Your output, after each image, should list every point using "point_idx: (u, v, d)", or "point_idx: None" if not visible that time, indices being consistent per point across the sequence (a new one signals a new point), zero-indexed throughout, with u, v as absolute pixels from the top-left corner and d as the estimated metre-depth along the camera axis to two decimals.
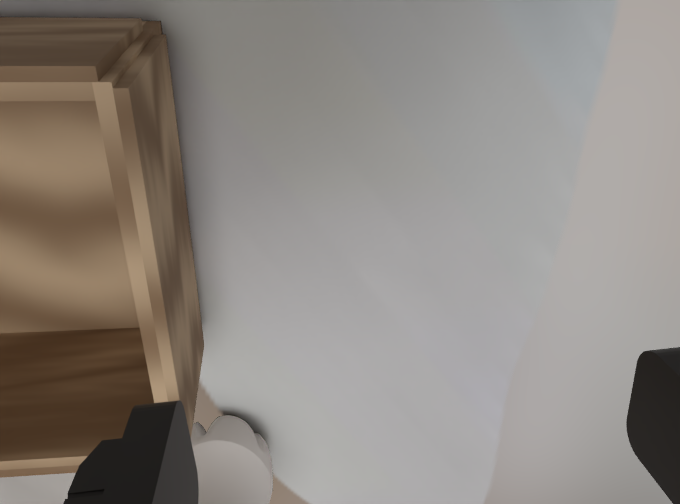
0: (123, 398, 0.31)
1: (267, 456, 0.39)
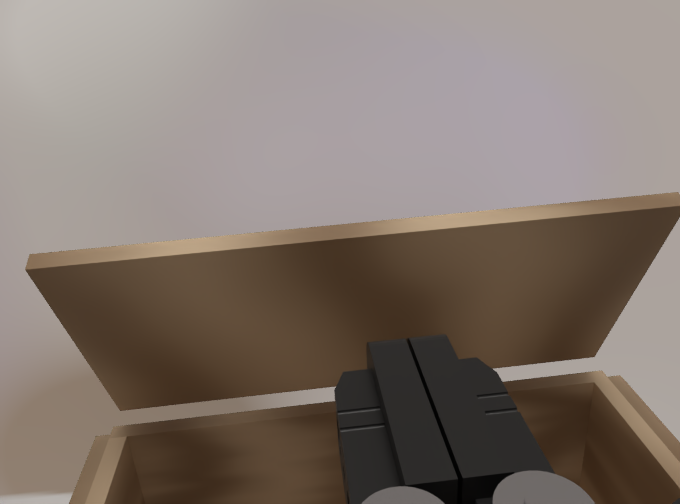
0: None
1: None
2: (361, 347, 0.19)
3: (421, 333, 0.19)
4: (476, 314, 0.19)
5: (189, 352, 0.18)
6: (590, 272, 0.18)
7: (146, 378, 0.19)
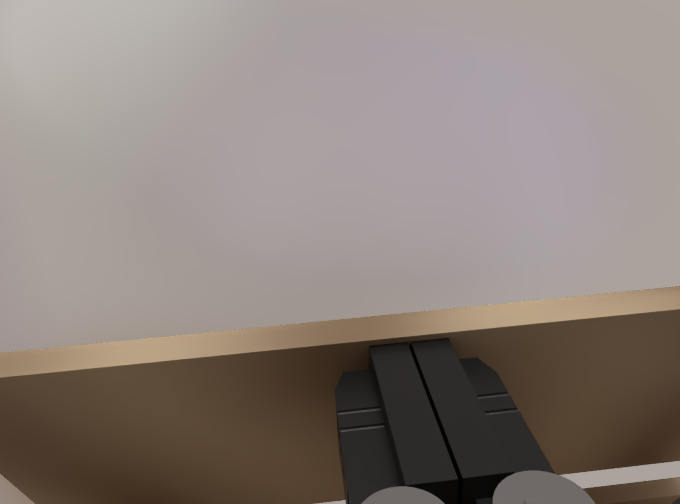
0: None
1: None
2: None
3: None
4: (545, 421, 0.14)
5: (156, 471, 0.13)
6: None
7: (100, 500, 0.14)
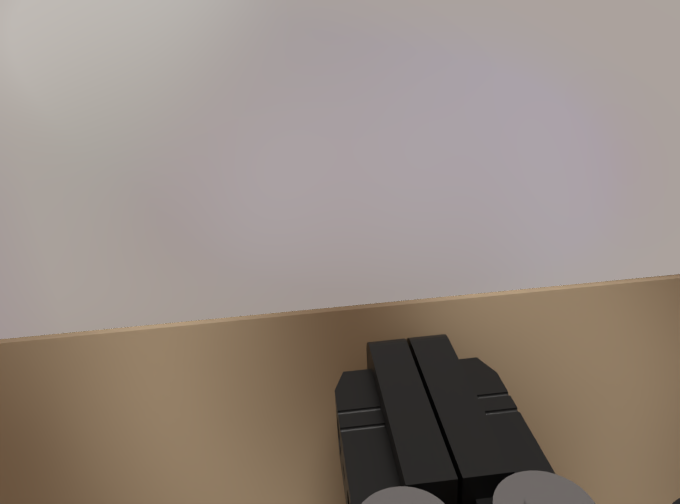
0: None
1: None
2: None
3: None
4: None
5: None
6: None
7: None
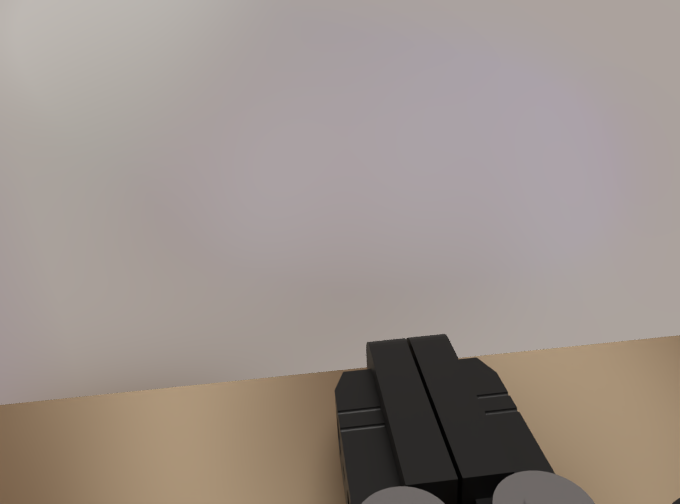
0: None
1: None
2: None
3: None
4: None
5: None
6: None
7: None
